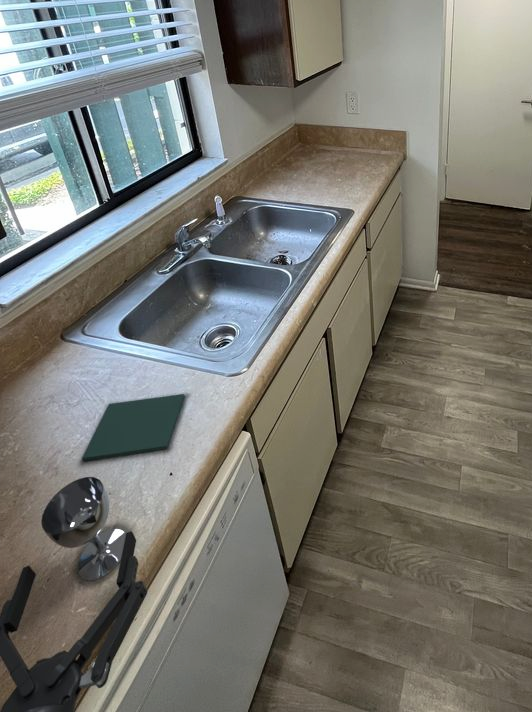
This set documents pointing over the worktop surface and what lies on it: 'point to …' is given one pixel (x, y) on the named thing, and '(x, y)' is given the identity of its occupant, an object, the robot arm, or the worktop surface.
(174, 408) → the mat
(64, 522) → the wine glass
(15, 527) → the worktop surface
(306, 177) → the worktop surface
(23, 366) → the worktop surface
